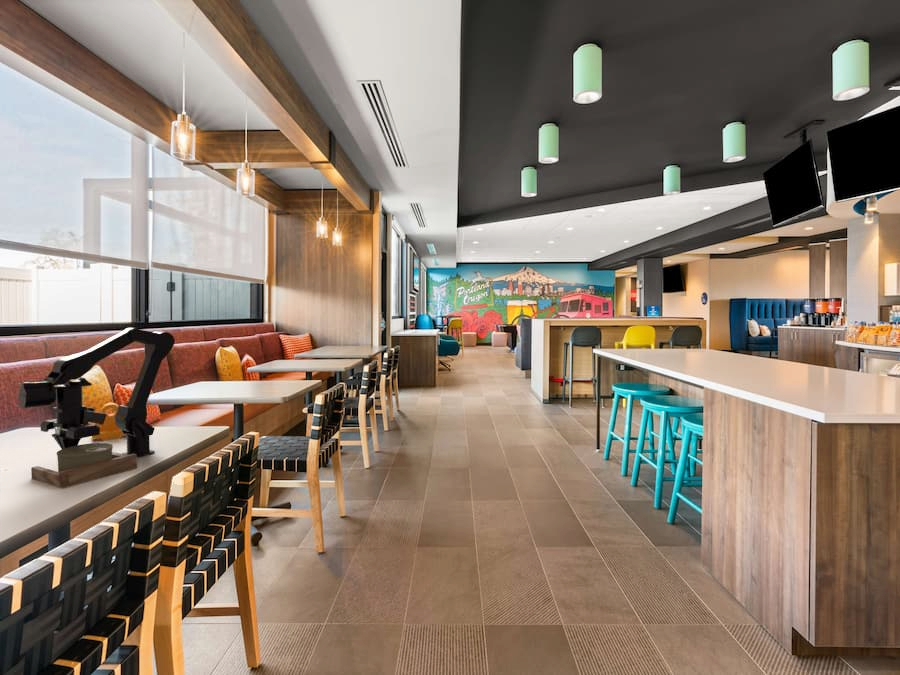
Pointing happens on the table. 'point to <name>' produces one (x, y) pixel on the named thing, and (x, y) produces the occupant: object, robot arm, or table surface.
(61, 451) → the can
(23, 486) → the table surface
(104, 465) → the pocket
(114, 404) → the bracket
